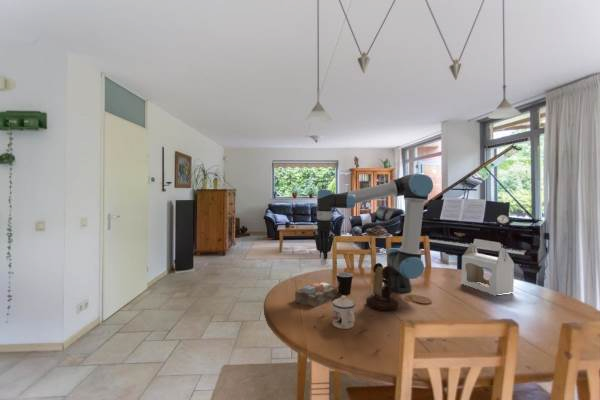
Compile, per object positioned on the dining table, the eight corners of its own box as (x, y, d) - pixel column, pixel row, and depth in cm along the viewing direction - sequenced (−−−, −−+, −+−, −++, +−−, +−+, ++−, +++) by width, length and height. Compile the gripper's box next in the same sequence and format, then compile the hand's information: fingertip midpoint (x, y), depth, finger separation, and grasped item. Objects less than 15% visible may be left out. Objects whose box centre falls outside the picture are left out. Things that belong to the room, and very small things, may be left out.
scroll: (360, 302, 141) (360, 262, 141) (384, 299, 147) (384, 260, 147) (379, 314, 128) (380, 269, 128) (405, 309, 134) (406, 266, 133)
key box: (319, 292, 156) (319, 282, 156) (337, 297, 148) (337, 287, 148) (295, 301, 142) (295, 290, 142) (313, 307, 134) (313, 296, 134)
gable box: (513, 294, 158) (515, 243, 157) (496, 296, 153) (497, 244, 153) (477, 282, 179) (478, 237, 178) (460, 284, 174) (461, 238, 174)
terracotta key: (316, 292, 149) (316, 282, 148) (322, 294, 146) (323, 284, 145) (310, 294, 145) (310, 284, 145) (317, 296, 142) (317, 286, 142)
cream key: (323, 291, 153) (323, 282, 153) (329, 293, 150) (330, 284, 150) (318, 293, 150) (318, 284, 150) (324, 295, 147) (324, 286, 147)
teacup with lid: (327, 321, 120) (328, 293, 120) (346, 318, 123) (346, 291, 123) (343, 334, 109) (344, 304, 109) (363, 330, 113) (363, 300, 112)
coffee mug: (352, 296, 150) (352, 277, 150) (335, 295, 152) (335, 276, 152) (352, 289, 162) (353, 271, 161) (337, 288, 163) (337, 270, 163)
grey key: (308, 295, 144) (308, 285, 144) (315, 297, 141) (315, 287, 141) (302, 297, 141) (302, 287, 141) (309, 299, 138) (309, 289, 138)
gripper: (309, 218, 150) (309, 263, 151) (330, 220, 142) (329, 268, 142) (319, 218, 156) (318, 261, 156) (338, 219, 147) (337, 265, 147)
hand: (323, 264), depth 149 cm, fingers closed
